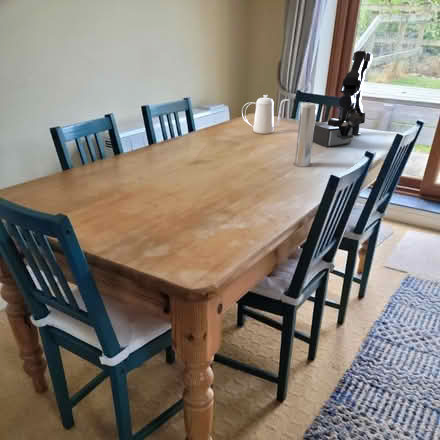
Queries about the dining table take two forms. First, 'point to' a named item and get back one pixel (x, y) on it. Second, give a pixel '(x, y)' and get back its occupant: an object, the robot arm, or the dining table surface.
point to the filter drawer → (339, 137)
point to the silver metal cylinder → (305, 134)
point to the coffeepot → (264, 115)
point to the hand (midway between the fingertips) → (344, 139)
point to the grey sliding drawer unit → (323, 133)
